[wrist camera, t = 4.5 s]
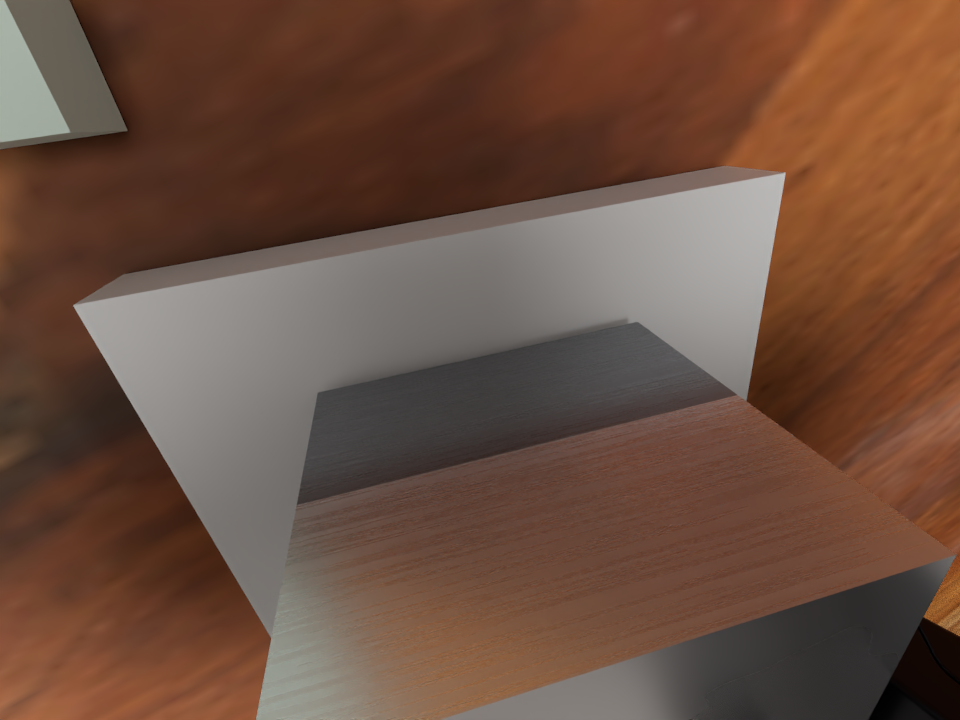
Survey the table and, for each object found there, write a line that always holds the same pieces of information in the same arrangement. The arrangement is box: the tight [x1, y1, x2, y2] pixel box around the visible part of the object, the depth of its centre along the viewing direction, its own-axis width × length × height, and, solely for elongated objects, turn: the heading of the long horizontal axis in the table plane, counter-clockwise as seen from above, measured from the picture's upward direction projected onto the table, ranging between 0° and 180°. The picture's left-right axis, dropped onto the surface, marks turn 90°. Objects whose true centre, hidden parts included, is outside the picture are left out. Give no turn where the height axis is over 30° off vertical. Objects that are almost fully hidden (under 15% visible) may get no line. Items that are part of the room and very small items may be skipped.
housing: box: [256, 322, 956, 720], centre depth 7 cm, size 6×7×5 cm
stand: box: [73, 166, 786, 638], centre depth 10 cm, size 11×11×2 cm
